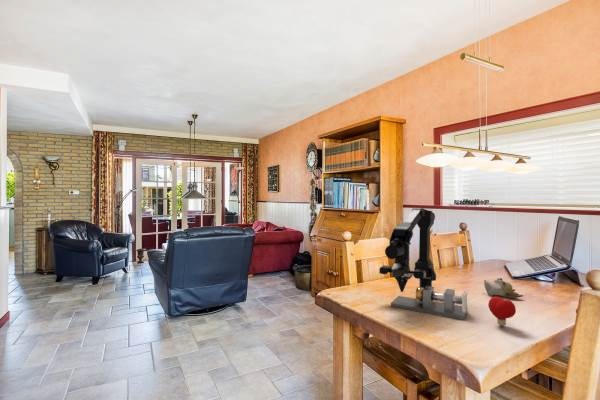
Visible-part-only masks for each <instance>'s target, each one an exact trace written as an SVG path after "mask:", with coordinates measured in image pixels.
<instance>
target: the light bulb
mask: <svg viewBox="0 0 600 400" xmlns="http://www.w3.org/2000/svg"><path fill="white" fill-rule="evenodd" d="M487 305H488V306H487V307H488V309H489V311H490V312H491V314H492V315H493V316H494V317H495V318H496V319H497V324H498V326H499V327H504V326H506V325H507V319H510V318H512V317H514V316H515V315H516V312H517V310H516V306H515V304H514V302H513V301H512V300H510V299H504V298H502V297H501V296H492V297H491V298H490V299H489V300H488V304H487Z"/></svg>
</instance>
